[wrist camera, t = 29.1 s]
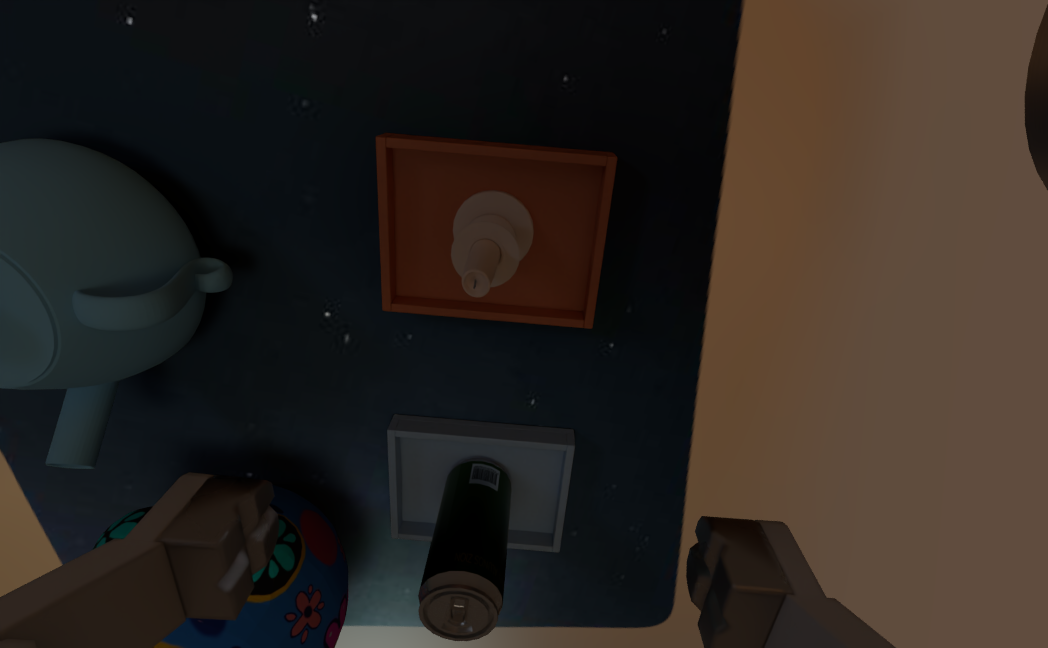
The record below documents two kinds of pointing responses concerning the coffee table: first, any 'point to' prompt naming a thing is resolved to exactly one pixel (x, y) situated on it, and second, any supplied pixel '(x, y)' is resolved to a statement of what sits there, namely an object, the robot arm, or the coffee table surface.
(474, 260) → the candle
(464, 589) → the beer can
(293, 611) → the ceramic pot
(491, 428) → the gray tray
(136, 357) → the teapot
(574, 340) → the coffee table surface
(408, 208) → the terracotta tray
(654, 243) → the coffee table surface
